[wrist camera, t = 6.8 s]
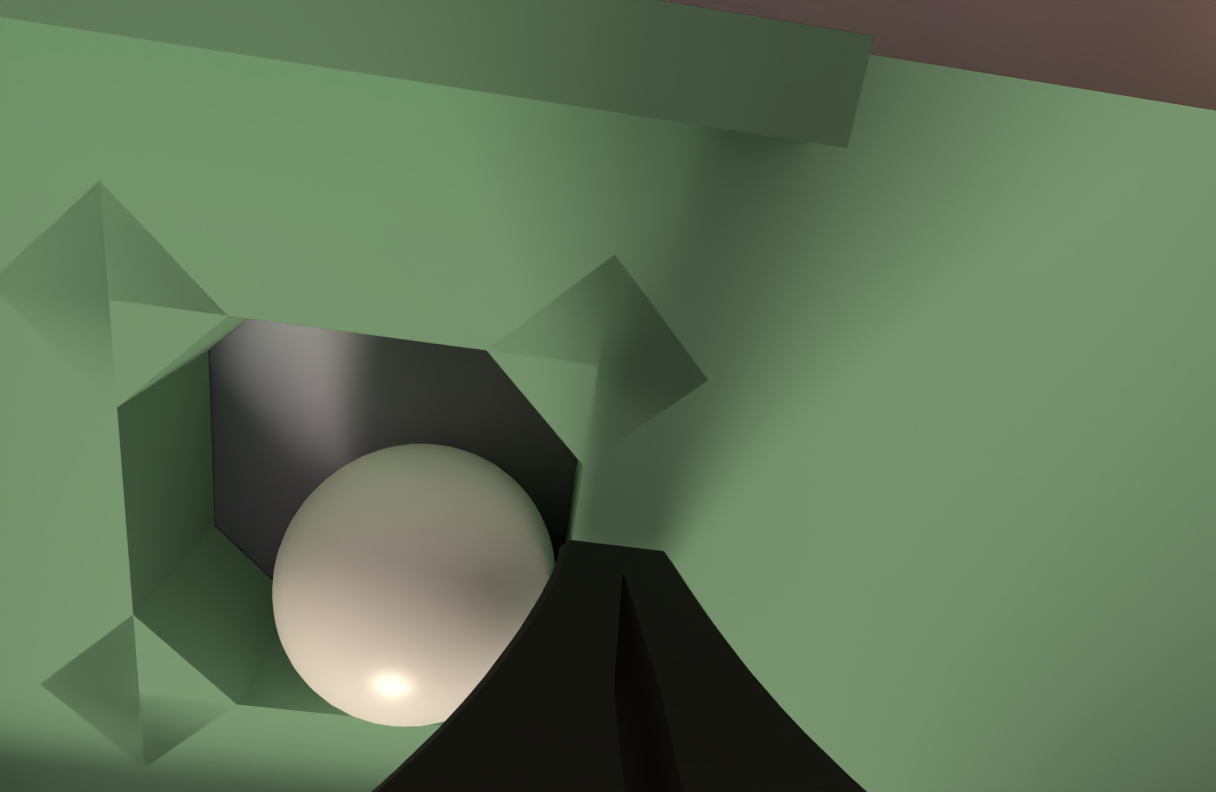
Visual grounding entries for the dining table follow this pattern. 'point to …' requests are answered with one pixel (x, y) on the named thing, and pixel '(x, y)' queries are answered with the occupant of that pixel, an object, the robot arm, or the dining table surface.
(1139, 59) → the dining table surface
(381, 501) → the ball
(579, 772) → the robot arm
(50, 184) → the green mini golf board
